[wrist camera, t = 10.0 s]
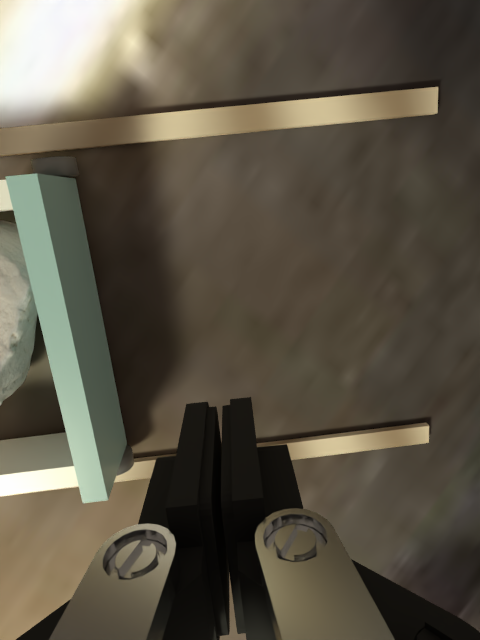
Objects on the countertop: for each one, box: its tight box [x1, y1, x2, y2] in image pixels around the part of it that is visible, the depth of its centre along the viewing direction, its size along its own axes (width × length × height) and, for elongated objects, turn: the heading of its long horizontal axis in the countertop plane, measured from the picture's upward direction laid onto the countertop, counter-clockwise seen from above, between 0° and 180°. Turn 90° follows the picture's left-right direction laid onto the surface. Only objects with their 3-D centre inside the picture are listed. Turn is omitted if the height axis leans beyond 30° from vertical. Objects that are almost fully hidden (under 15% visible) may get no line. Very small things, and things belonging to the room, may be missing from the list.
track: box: [0, 87, 438, 497], centre depth 24 cm, size 32×20×1 cm, turn 96°
